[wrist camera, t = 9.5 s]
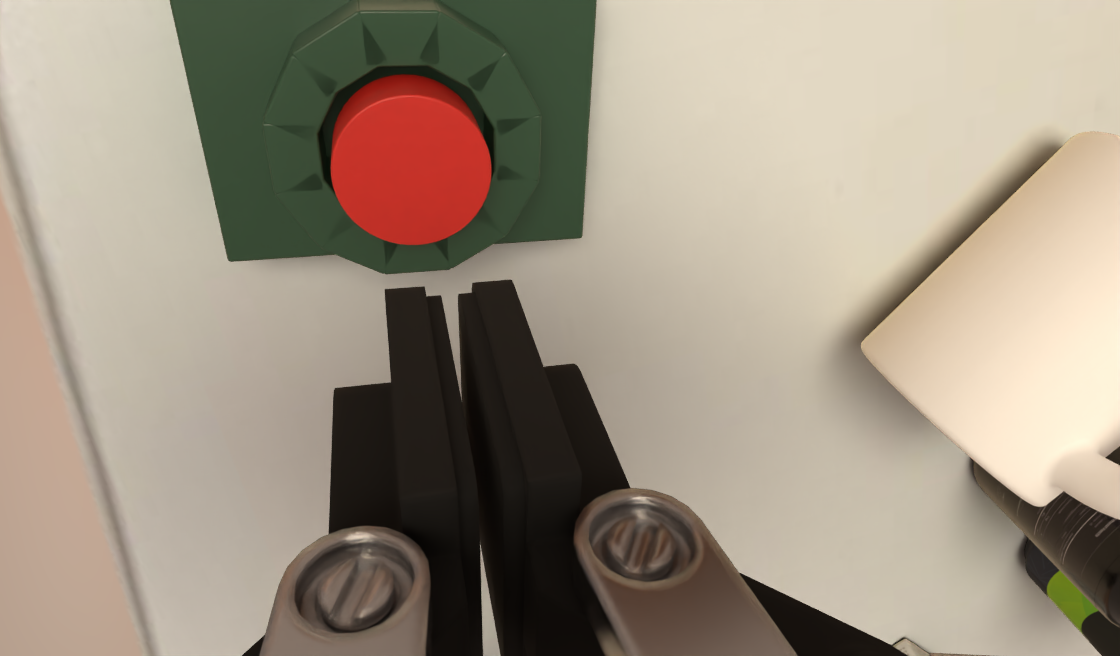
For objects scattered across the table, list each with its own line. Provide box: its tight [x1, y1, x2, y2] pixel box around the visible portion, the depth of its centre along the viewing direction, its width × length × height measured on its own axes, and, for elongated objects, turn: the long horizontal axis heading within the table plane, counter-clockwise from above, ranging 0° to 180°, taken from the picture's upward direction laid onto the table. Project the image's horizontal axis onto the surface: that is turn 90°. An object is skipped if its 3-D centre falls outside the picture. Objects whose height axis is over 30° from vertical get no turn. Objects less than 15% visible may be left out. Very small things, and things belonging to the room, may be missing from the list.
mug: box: [861, 131, 1120, 520], centre depth 25 cm, size 8×10×12 cm
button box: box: [170, 0, 597, 274], centre depth 20 cm, size 10×7×4 cm
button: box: [331, 74, 492, 245], centre depth 18 cm, size 4×4×2 cm
